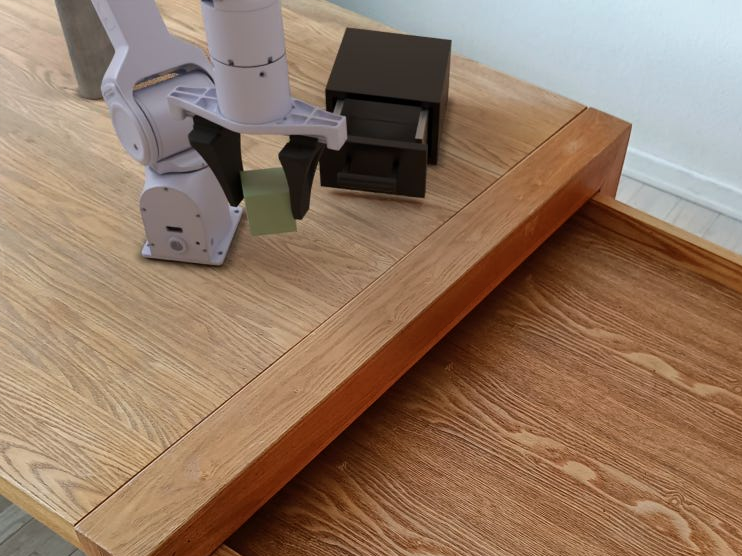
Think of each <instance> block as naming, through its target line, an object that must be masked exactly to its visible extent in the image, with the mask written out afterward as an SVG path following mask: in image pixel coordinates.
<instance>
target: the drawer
mask: <svg viewBox="0 0 742 556" xmlns="http://www.w3.org/2000/svg"><path fill="white" fill-rule="evenodd" d="M333 114H336V115H341V116H345V117H346V127H347V140H346V141H345V143H344V144H343V146H342V147H341V148H340V150H333V149H329V148H327V144H326V145H325V147H324V150H323V152H322V155H321V157H320V160H319V163H318V168H319V183H320V187H322V188H330V189H340V190H347V191H355V192H356V191H357V192H364V193H372V194H373V193H374V194H381V195H392V196H400V197H408V198H418V199H425V198H426V194H427V193H426V192H427V175H428V174H427V173H428V164H427V154H428V142H429V136H430V131H431V115H432V109H430V108H422V107H413V106H405V105H397V104H388V103H380V102H371V101H363V100H354V99H346V98H338V100H337V103H336V106H335V109H334V112H333Z"/></svg>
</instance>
